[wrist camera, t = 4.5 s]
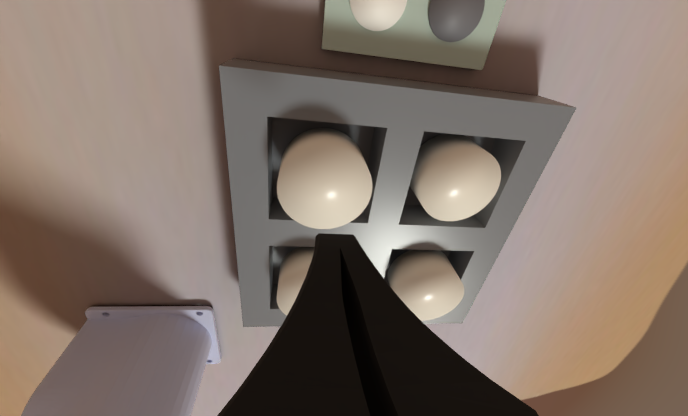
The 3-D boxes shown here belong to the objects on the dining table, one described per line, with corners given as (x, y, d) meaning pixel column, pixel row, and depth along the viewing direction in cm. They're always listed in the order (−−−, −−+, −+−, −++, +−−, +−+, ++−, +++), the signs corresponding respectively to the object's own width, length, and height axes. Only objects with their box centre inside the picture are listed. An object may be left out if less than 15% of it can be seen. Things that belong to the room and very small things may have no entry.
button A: (400, 198, 20) (411, 219, 18) (417, 129, 18) (433, 145, 15) (464, 201, 21) (482, 222, 19) (490, 136, 18) (514, 152, 16)
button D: (279, 292, 22) (276, 322, 20) (280, 243, 19) (276, 271, 17) (342, 292, 23) (346, 321, 20) (350, 245, 20) (355, 272, 18)
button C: (382, 293, 23) (389, 321, 21) (394, 246, 21) (405, 272, 18) (438, 293, 24) (451, 320, 22) (457, 248, 21) (474, 273, 19)
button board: (249, 295, 24) (243, 326, 22) (233, 58, 15) (218, 65, 13) (447, 295, 27) (462, 323, 25) (538, 95, 18) (576, 107, 15)
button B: (280, 202, 18) (276, 227, 16) (281, 123, 15) (276, 140, 13) (357, 206, 18) (364, 230, 16) (370, 132, 16) (380, 149, 14)
